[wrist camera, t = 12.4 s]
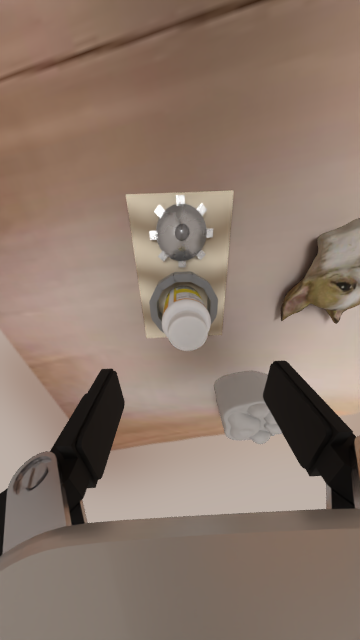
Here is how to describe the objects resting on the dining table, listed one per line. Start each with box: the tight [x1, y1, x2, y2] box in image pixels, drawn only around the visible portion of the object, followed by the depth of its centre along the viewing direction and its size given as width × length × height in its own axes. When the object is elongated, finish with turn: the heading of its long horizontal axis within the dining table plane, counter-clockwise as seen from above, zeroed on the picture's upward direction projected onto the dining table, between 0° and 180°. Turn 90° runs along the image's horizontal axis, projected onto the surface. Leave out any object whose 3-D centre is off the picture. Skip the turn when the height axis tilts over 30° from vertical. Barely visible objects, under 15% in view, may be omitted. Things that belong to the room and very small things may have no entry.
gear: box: [149, 195, 213, 267], centre depth 19 cm, size 8×8×4 cm
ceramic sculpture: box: [281, 218, 360, 324], centre depth 22 cm, size 11×9×15 cm
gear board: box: [126, 190, 234, 338], centre depth 24 cm, size 20×13×2 cm, turn 2°
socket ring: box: [149, 271, 218, 333], centre depth 24 cm, size 10×10×2 cm
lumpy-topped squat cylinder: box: [214, 371, 282, 444], centre depth 31 cm, size 10×13×9 cm
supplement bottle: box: [162, 286, 211, 351], centre depth 20 cm, size 6×6×10 cm
